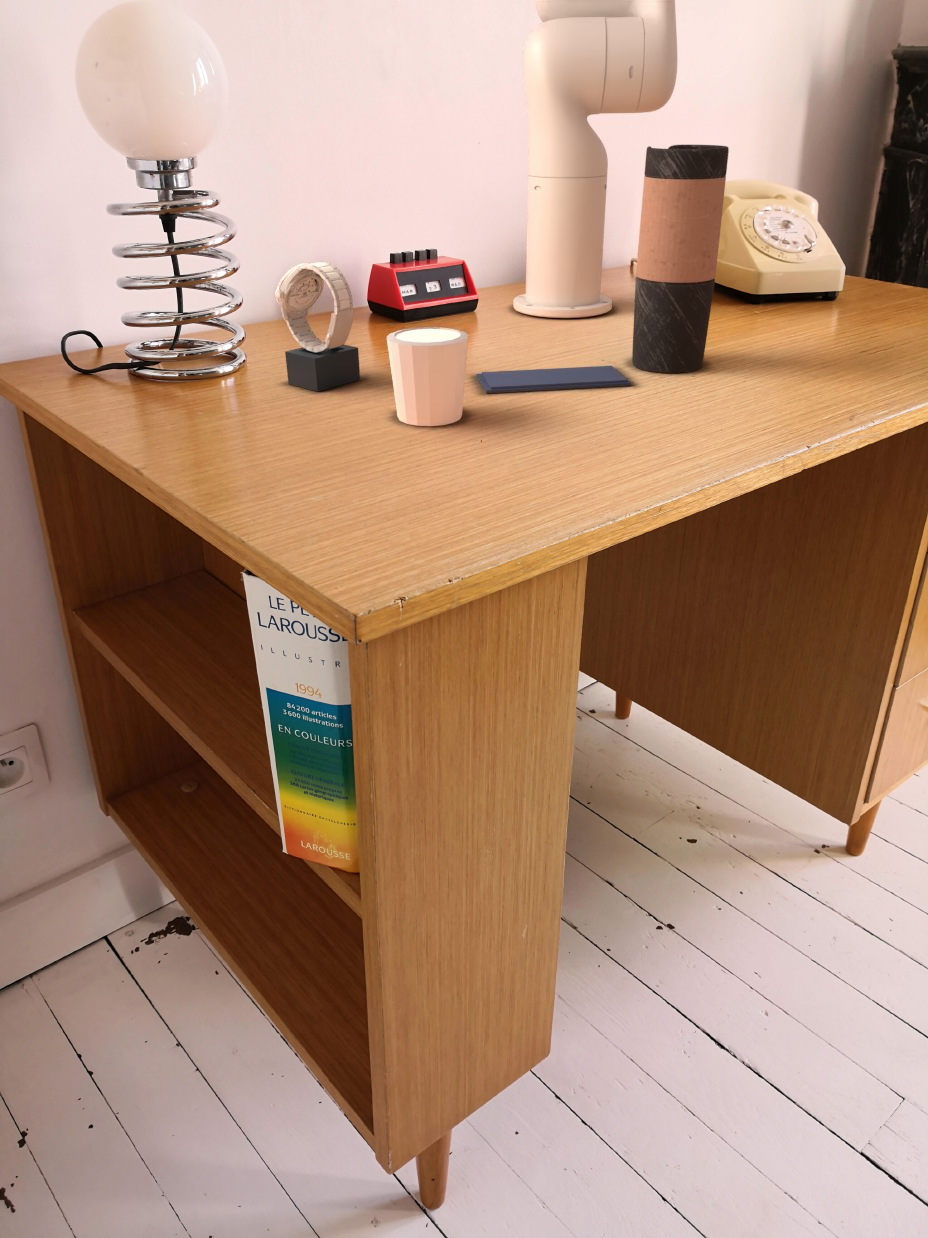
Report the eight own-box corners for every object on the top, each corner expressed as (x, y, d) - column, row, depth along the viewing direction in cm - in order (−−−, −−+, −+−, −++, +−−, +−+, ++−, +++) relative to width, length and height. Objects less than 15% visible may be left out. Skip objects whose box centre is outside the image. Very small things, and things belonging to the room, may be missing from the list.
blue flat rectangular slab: (476, 376, 94) (476, 371, 94) (613, 369, 96) (613, 364, 95) (486, 393, 89) (486, 387, 88) (630, 385, 90) (631, 380, 90)
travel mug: (705, 375, 93) (732, 148, 83) (627, 372, 95) (644, 148, 85) (704, 356, 100) (728, 144, 90) (631, 353, 101) (647, 144, 91)
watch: (318, 368, 97) (308, 255, 92) (372, 382, 92) (365, 263, 87) (274, 380, 93) (262, 262, 88) (329, 395, 89) (319, 271, 83)
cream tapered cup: (430, 433, 78) (428, 348, 75) (374, 417, 83) (369, 335, 79) (485, 414, 83) (485, 333, 79) (429, 400, 87) (426, 321, 84)
